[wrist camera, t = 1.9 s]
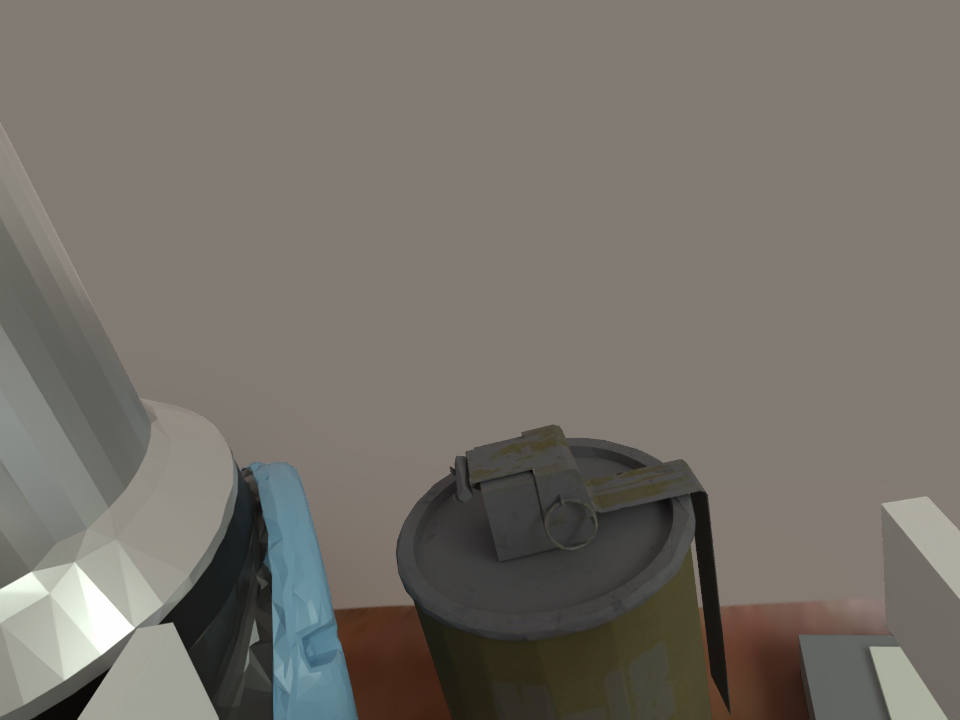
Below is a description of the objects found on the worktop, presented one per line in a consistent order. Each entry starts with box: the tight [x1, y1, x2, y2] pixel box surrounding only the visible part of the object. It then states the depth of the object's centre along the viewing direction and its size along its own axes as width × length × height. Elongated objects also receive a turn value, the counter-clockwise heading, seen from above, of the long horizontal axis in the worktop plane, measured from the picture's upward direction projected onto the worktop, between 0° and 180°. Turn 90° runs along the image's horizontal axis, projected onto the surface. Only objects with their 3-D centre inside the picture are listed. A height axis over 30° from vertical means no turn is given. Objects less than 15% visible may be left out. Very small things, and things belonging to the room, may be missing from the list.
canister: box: [396, 425, 731, 720], centre depth 29 cm, size 11×10×20 cm
